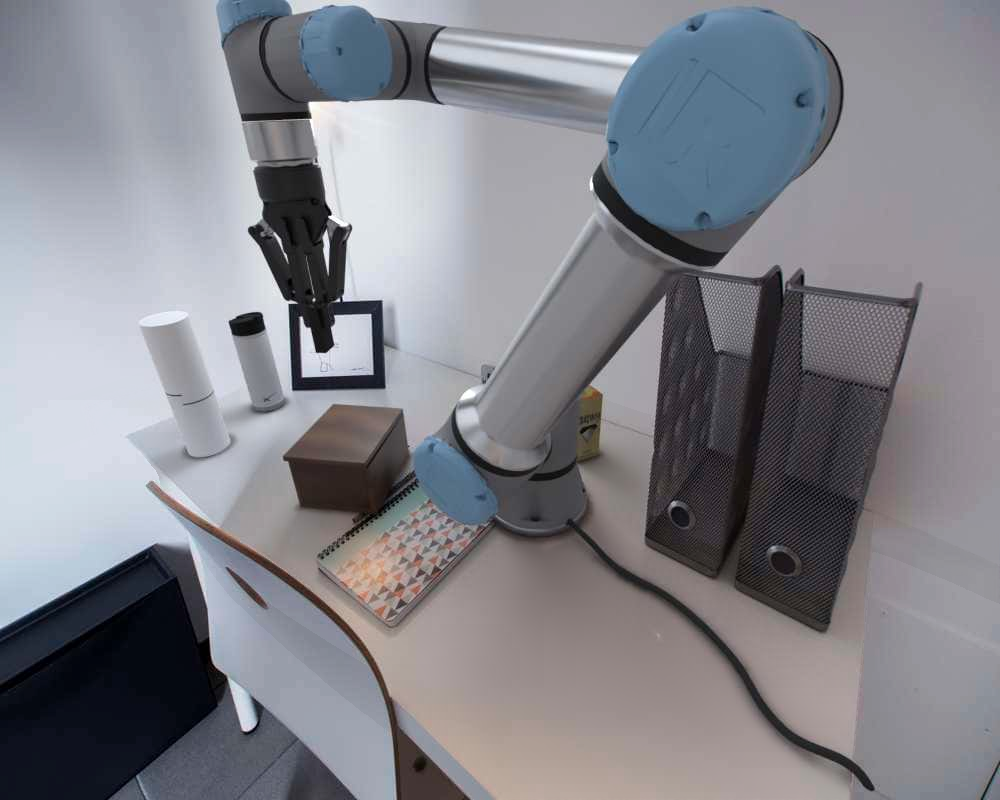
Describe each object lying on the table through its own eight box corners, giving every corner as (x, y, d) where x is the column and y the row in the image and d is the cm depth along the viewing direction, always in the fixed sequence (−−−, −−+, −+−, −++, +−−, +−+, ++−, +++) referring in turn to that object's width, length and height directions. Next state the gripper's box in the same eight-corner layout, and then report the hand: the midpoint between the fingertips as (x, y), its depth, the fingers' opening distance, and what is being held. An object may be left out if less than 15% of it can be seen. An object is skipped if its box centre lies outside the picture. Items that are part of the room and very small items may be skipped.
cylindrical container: (201, 435, 101) (155, 311, 89) (237, 435, 101) (196, 310, 89) (180, 457, 95) (128, 326, 83) (218, 457, 95) (172, 326, 82)
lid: (365, 468, 75) (364, 463, 74) (283, 461, 77) (282, 456, 76) (403, 412, 89) (403, 408, 89) (333, 408, 91) (333, 403, 91)
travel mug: (276, 413, 108) (250, 321, 98) (247, 411, 109) (219, 319, 99) (292, 398, 113) (269, 309, 103) (264, 396, 114) (239, 308, 105)
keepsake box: (376, 514, 80) (368, 468, 76) (300, 507, 82) (287, 461, 78) (409, 455, 94) (403, 412, 89) (342, 450, 96) (334, 408, 91)
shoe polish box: (598, 454, 92) (602, 394, 86) (574, 462, 90) (577, 401, 85) (582, 440, 96) (585, 382, 90) (559, 448, 94) (560, 389, 88)
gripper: (351, 158, 64) (379, 340, 75) (253, 160, 66) (294, 337, 77) (324, 164, 57) (359, 362, 69) (215, 167, 59) (267, 358, 71)
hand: (325, 348), depth 73 cm, fingers closed
